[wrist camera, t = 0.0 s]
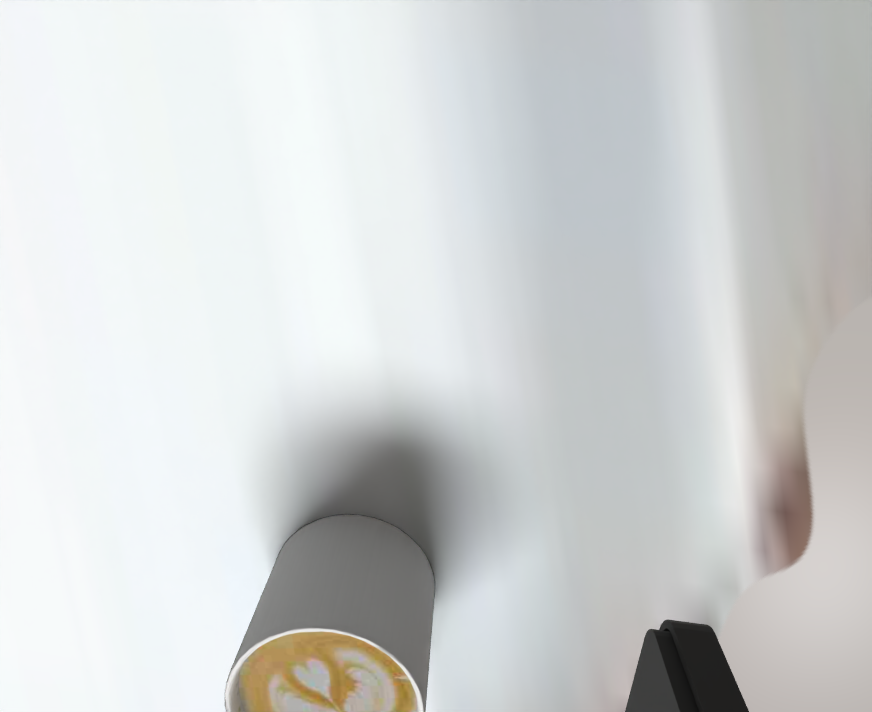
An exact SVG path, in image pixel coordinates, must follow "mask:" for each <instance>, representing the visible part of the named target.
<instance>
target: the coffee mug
mask: <svg viewBox="0 0 872 712" xmlns="http://www.w3.org/2000/svg"><path fill="white" fill-rule="evenodd" d="M434 595H435V581H434V576H433V571H432V569H431V566H430V563H429V561H428V559H427V557H426V555H425V554H424V552H423V551H422V549H421V548H420V547H419V546H418V545H417V544H416V543H415V541H413V540H412V539H411V538H410V537H409V536H408V535H407V534H405V533H404V532H403V531H401V530H400V529H398V528H397V527H395V526H393V525H391V524H389V523H387V522H384V521H381V520H378V519H376V518H372V517H367V516H361V515H336V516H330V517H325V518H322V519H319V520H316V521H314V522H312V523H310V524H308V525H306V526H304V527H303V528H301V529H299V530H298V531H297V532H296V533H294V534H293V535H292V536H291V537H290V538H289V539H288V540H287V542H286V543H285V544H284V546H283V547H282V549H281V551H280V552H279V555H278V557H277V559H276V562H275V564H274V567H273V569H272V571H271V574H270V576H269V579H268V581H267V583H266V586H265V588H264V591H263V593H262V595H261V598H260V600H259V603H258V605H257V608H256V610H255V612H254V615H253V617H252V620H251V622H250V624H249V627H248V629H247V632H246V634H245V636H244V639H243V641H242V644H241V646H240V649H239V651H238V653H237V656H236V658H235V661H234V663H233V665H232V668H231V671H230V674H229V677H228V680H227V684H226V689H225V709H226V712H425V710H426V697H427V684H428V671H429V659H430V646H431V633H432V620H433V607H434Z"/></svg>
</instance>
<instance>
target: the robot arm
mask: <svg viewBox="0 0 872 712" xmlns="http://www.w3.org/2000/svg"><path fill="white" fill-rule="evenodd" d="M625 712H749V711H748V708H747V706H746V704H745V701H744V699H743V697H742V695H741V692H740V690H739V688H738V685H737V683H736V681H735V678H734V676H733V674H732V672H731V669H730V667H729V665H728V663H727V660H726V658H725V655H724V653H723V651H722V649H721V646H720V644H719V642H718V639H717V637H716V635H715V633H714V631H713V629H712V628H711V627H710V626H708V625H704V624H696V623H689V622H681V621H674V620H665V621H664V622H663V623H662V624H661V627H660V629H659V630H654V629H650V630H648V631H647V633H646V636H645V638H644V642H643V646H642V650H641V654H640V657H639V661H638V665H637V669H636V673H635V676H634V680H633V684H632V688H631V692H630V695H629V699H628V703H627V707H626V711H625Z"/></svg>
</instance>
